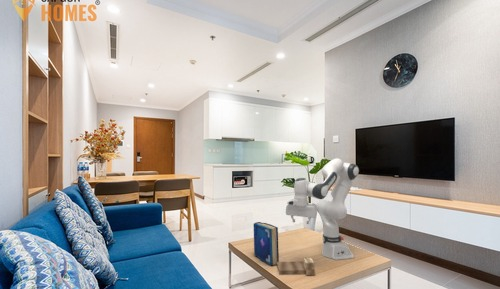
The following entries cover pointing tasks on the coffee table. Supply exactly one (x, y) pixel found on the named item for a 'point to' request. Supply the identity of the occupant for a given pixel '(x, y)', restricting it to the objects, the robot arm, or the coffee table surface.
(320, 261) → the coffee table surface
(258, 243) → the book
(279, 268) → the board
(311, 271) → the block
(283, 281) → the coffee table surface
